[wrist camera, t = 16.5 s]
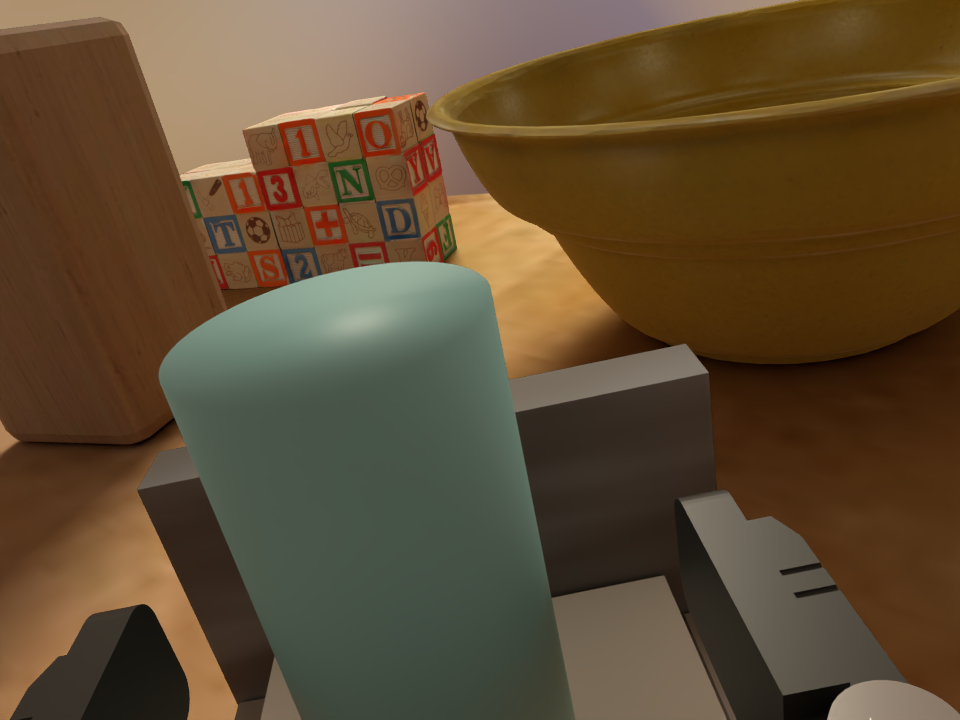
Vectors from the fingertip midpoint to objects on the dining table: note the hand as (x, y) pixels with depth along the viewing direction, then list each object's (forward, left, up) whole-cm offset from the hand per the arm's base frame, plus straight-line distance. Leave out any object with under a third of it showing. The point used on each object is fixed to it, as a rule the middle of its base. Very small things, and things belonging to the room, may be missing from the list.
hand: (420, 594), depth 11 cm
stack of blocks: (+52, +1, -10) cm, 53 cm away
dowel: (0, 0, -8) cm, 8 cm away
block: (+35, +13, -10) cm, 38 cm away
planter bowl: (+24, -22, -10) cm, 34 cm away
